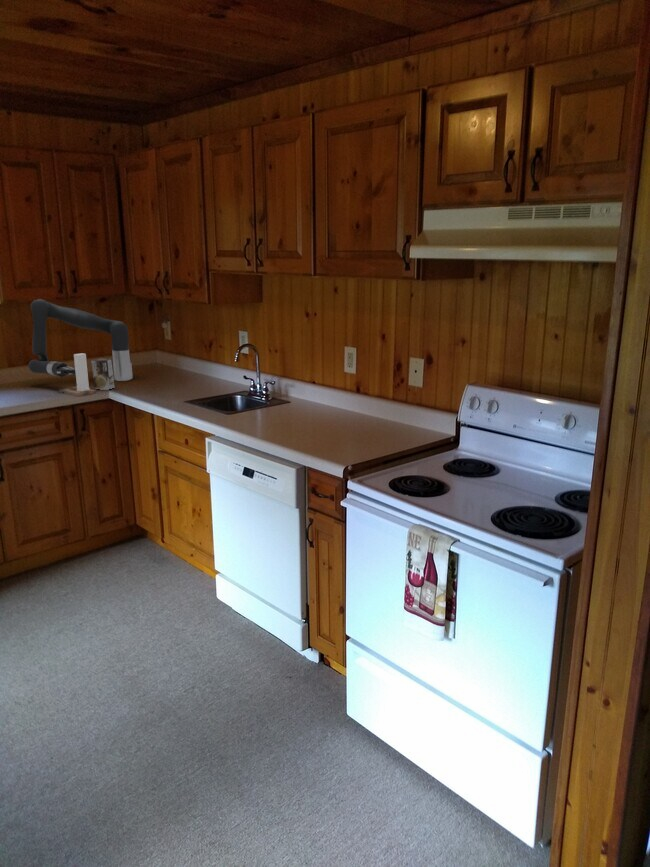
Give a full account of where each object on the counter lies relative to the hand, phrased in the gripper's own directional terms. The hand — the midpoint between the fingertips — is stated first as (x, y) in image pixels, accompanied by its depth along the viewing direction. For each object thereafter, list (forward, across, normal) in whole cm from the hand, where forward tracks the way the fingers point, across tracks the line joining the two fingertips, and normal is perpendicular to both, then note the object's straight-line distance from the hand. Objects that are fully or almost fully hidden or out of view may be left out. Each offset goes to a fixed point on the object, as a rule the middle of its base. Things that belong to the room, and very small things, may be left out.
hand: (77, 372), depth 343 cm
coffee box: (+2, +14, +11) cm, 18 cm away
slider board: (-2, 0, +11) cm, 11 cm away
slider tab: (+3, 0, +10) cm, 10 cm away
